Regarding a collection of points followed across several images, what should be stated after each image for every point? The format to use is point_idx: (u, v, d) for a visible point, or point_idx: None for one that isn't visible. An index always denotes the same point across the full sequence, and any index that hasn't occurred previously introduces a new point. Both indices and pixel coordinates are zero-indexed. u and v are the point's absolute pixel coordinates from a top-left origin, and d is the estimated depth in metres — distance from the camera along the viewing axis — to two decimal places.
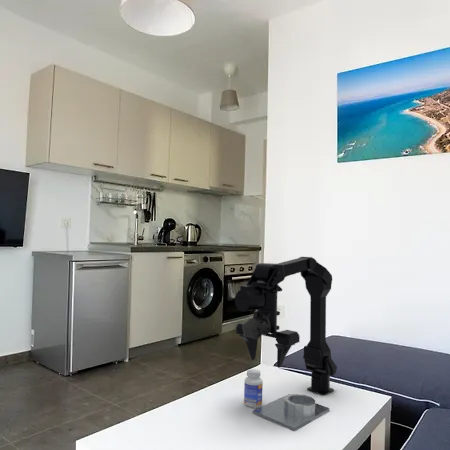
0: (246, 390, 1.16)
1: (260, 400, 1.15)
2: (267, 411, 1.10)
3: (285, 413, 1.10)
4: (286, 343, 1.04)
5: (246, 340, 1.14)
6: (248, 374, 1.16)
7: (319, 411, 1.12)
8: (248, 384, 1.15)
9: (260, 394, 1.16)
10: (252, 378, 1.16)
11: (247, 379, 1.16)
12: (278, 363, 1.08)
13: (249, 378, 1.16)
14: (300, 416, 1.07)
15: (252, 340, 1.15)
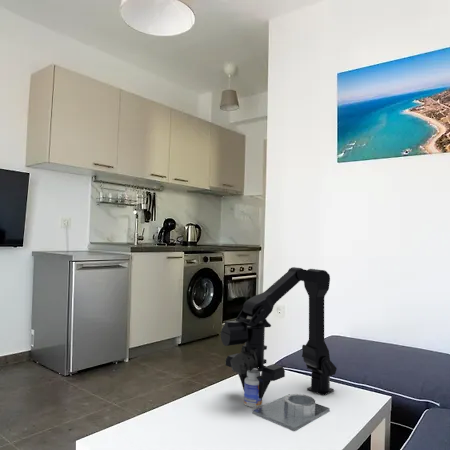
0: (246, 390, 1.16)
1: (260, 400, 1.15)
2: (267, 411, 1.10)
3: (285, 413, 1.10)
4: (271, 378, 1.09)
5: (239, 374, 1.19)
6: (248, 374, 1.16)
7: (319, 411, 1.12)
8: (248, 384, 1.15)
9: None
10: (252, 378, 1.16)
11: (247, 379, 1.16)
12: (260, 394, 1.15)
13: (249, 378, 1.16)
14: (300, 416, 1.07)
15: (245, 374, 1.20)
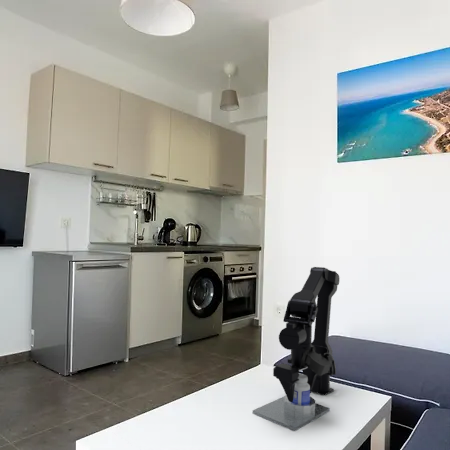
0: (307, 397, 1.10)
1: None
2: (267, 411, 1.10)
3: (285, 413, 1.10)
4: None
5: (294, 383, 1.07)
6: (305, 380, 1.10)
7: (319, 411, 1.12)
8: (308, 390, 1.10)
9: None
10: None
11: (305, 386, 1.10)
12: (311, 389, 1.15)
13: (305, 384, 1.11)
14: (300, 416, 1.07)
15: None
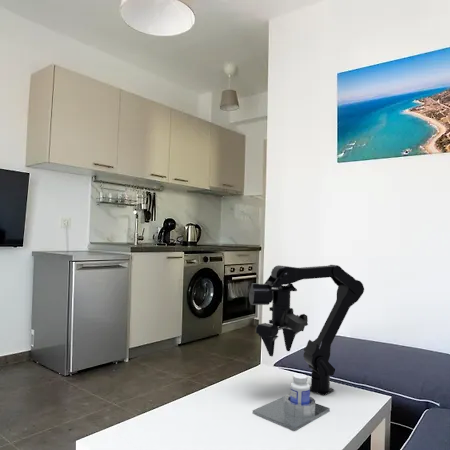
0: (307, 397, 1.10)
1: None
2: (267, 411, 1.10)
3: (285, 413, 1.10)
4: None
5: (274, 339, 1.22)
6: (305, 380, 1.10)
7: (319, 411, 1.12)
8: (308, 390, 1.10)
9: None
10: (306, 382, 1.12)
11: (305, 386, 1.10)
12: (290, 347, 1.30)
13: (305, 384, 1.11)
14: (300, 416, 1.07)
15: None
